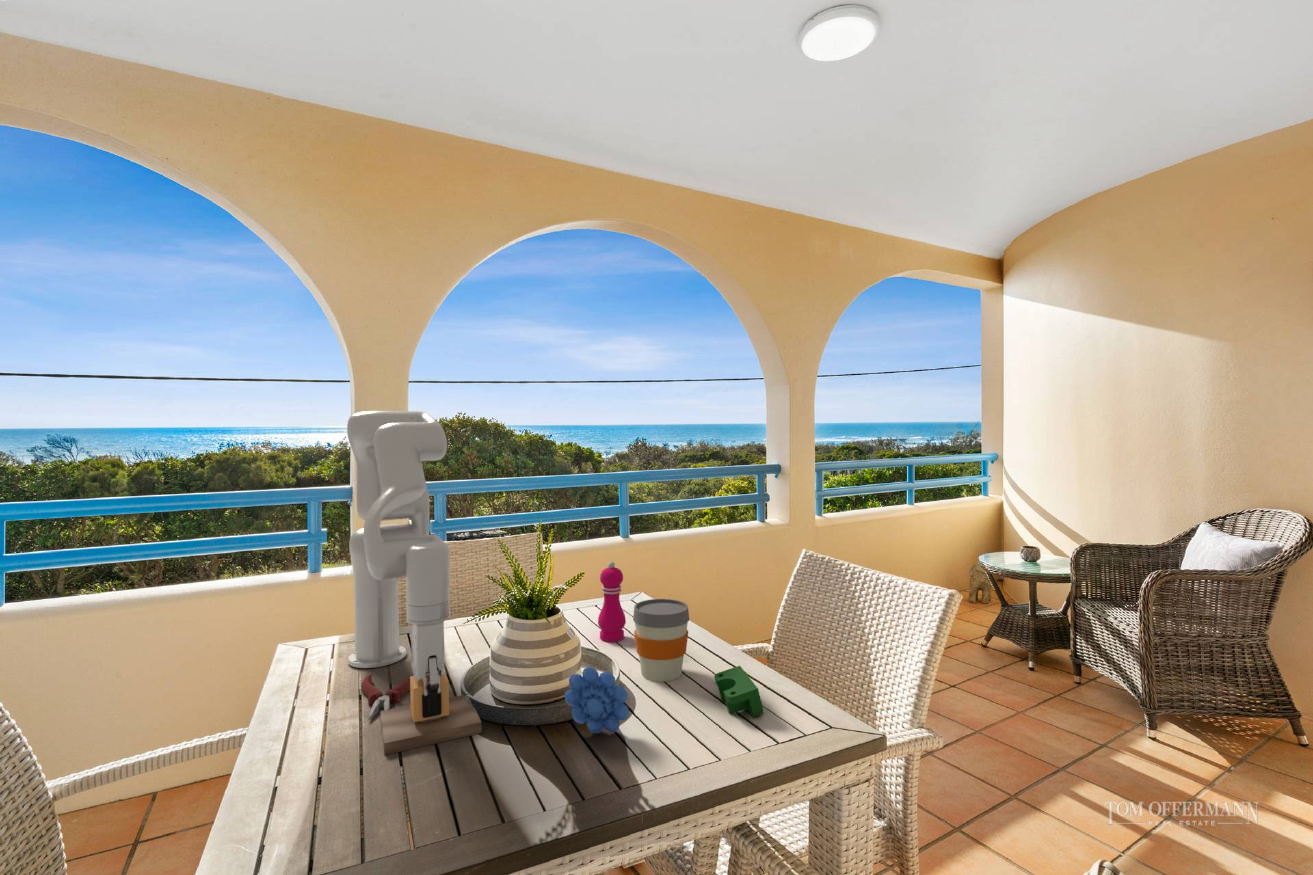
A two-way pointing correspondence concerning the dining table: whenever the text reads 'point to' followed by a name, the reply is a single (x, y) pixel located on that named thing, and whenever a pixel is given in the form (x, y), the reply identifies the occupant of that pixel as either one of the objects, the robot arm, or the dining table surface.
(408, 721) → the board
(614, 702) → the blue knobbed flower
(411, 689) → the matte orange cube
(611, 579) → the pepper mill
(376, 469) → the robot arm
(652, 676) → the reusable coffee cup
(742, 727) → the dining table surface
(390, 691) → the pliers
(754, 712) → the clamp
